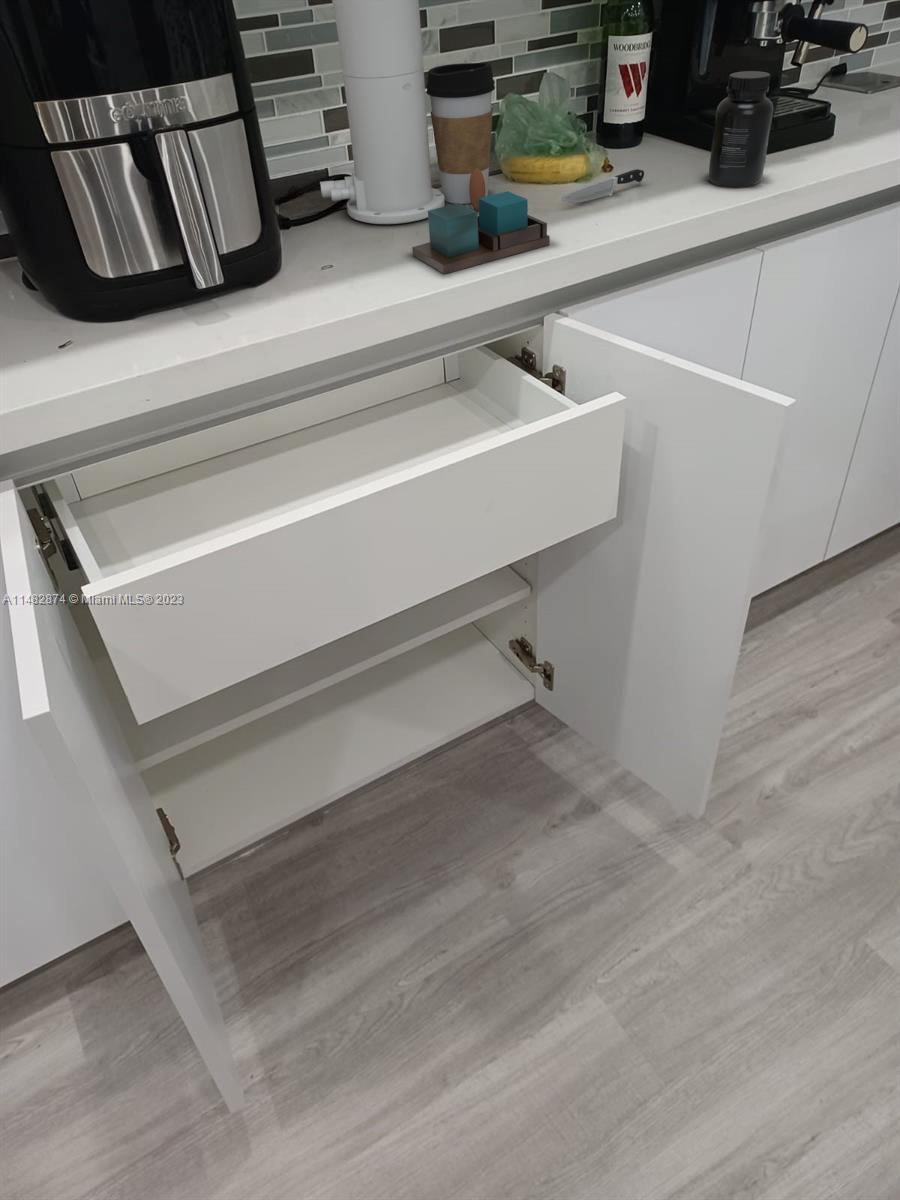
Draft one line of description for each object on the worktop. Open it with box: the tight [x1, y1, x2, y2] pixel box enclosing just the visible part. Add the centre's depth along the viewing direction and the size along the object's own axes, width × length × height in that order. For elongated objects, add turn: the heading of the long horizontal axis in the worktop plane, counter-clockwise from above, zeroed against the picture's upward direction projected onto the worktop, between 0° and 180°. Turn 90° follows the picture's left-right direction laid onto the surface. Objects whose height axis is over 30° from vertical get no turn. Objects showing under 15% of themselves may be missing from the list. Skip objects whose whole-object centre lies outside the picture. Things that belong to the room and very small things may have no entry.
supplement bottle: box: [707, 70, 774, 188], centre depth 109 cm, size 7×7×12 cm
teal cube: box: [478, 190, 529, 236], centre depth 98 cm, size 4×4×4 cm
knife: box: [559, 168, 645, 204], centre depth 110 cm, size 15×1×2 cm, turn 128°
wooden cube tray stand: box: [411, 203, 551, 275], centre depth 98 cm, size 14×7×5 cm, turn 120°
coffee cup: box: [425, 62, 496, 205], centre depth 109 cm, size 8×8×15 cm
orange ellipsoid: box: [469, 168, 485, 212], centre depth 108 cm, size 2×2×5 cm
